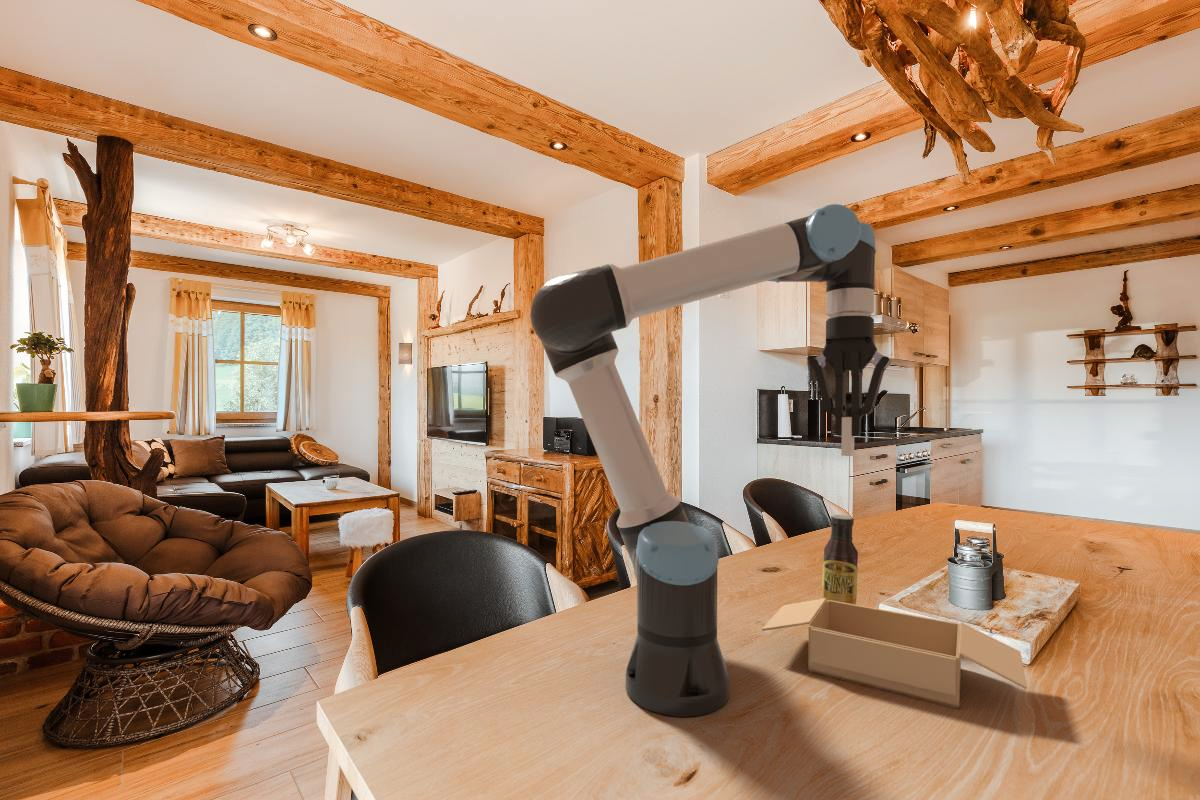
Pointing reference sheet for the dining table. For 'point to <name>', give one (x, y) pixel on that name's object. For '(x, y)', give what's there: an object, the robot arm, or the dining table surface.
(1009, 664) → the flap outer
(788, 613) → the flap inner
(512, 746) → the dining table surface
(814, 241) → the robot arm
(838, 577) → the sauce bottle
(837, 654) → the carton
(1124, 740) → the dining table surface
